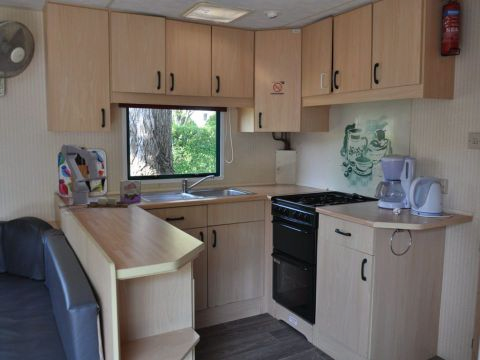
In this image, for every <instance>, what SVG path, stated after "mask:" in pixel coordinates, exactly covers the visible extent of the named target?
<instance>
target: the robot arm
mask: <svg viewBox="0 0 480 360" xmlns="http://www.w3.org/2000/svg"><path fill="white" fill-rule="evenodd" d="M60 152H61V154H62V156H63V158H64V160H65V164H66V165H67V167H68V168H69V171H70V173H71V175H72V177H73V180H74V181H73V182H72V185H73V189H74V192H73V193H72V204H74V205H77V204H78V205H86V204H89V193H90V194H91V193H92V185H91V182H94V181H100V183H101V190H102V192H104V191H105V188H104V187H105V182H106V180H107V177H108V176H107V175H101V176H100V173H99V166H98V159H99V155H98V153H96V152H91V151H90V150H88V149H87V148H81V147H79V145H77V144H63V145H62V146H61V148H60ZM78 154H79V156H80V157H81V158H82V159H84V161H85V162H86V165H87V167H88V174H89V177H88V178H86V177H84V176H83V174H82V173H81V171H80V169H79V167H78V164H77V162H76V160H75V159H77V156H78Z"/></svg>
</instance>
